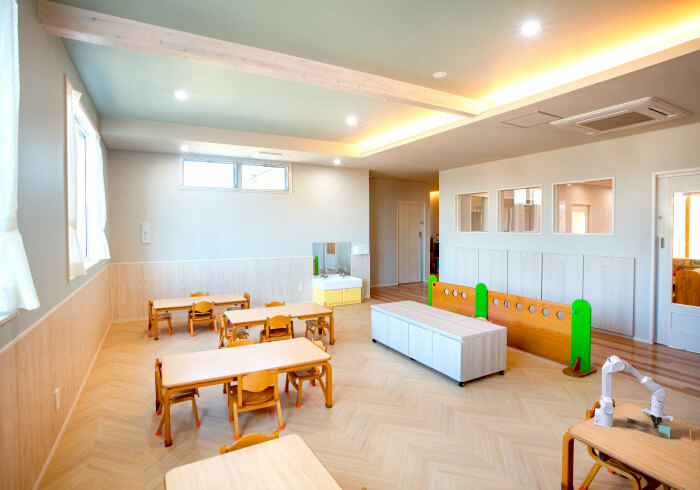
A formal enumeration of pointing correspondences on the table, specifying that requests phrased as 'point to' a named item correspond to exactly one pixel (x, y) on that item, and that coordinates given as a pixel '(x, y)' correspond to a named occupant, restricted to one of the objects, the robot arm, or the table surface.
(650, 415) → the bird rattle
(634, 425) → the chute
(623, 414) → the table surface
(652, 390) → the robot arm
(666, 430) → the block
